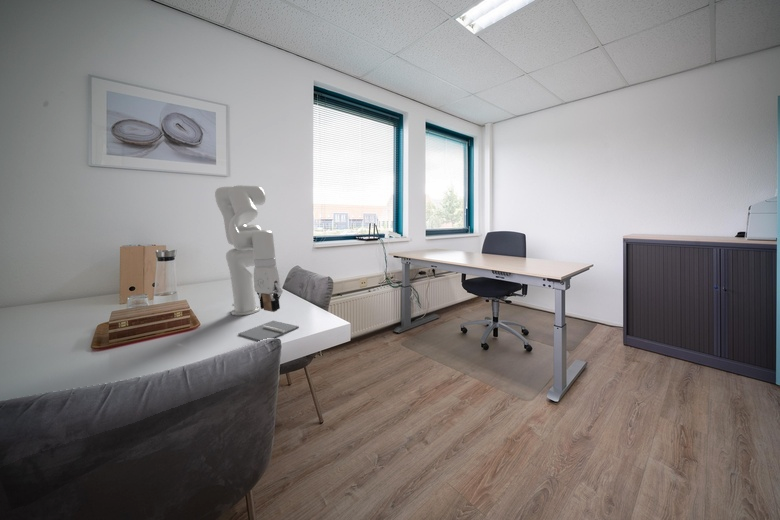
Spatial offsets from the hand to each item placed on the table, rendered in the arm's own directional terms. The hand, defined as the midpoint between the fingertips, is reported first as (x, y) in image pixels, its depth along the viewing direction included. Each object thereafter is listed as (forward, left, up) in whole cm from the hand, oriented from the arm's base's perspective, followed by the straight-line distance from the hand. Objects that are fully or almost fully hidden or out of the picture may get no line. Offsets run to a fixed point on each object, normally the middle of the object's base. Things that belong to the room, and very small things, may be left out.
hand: (270, 308), depth 114 cm
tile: (0, 0, -1) cm, 1 cm away
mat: (-2, 0, -10) cm, 10 cm away
